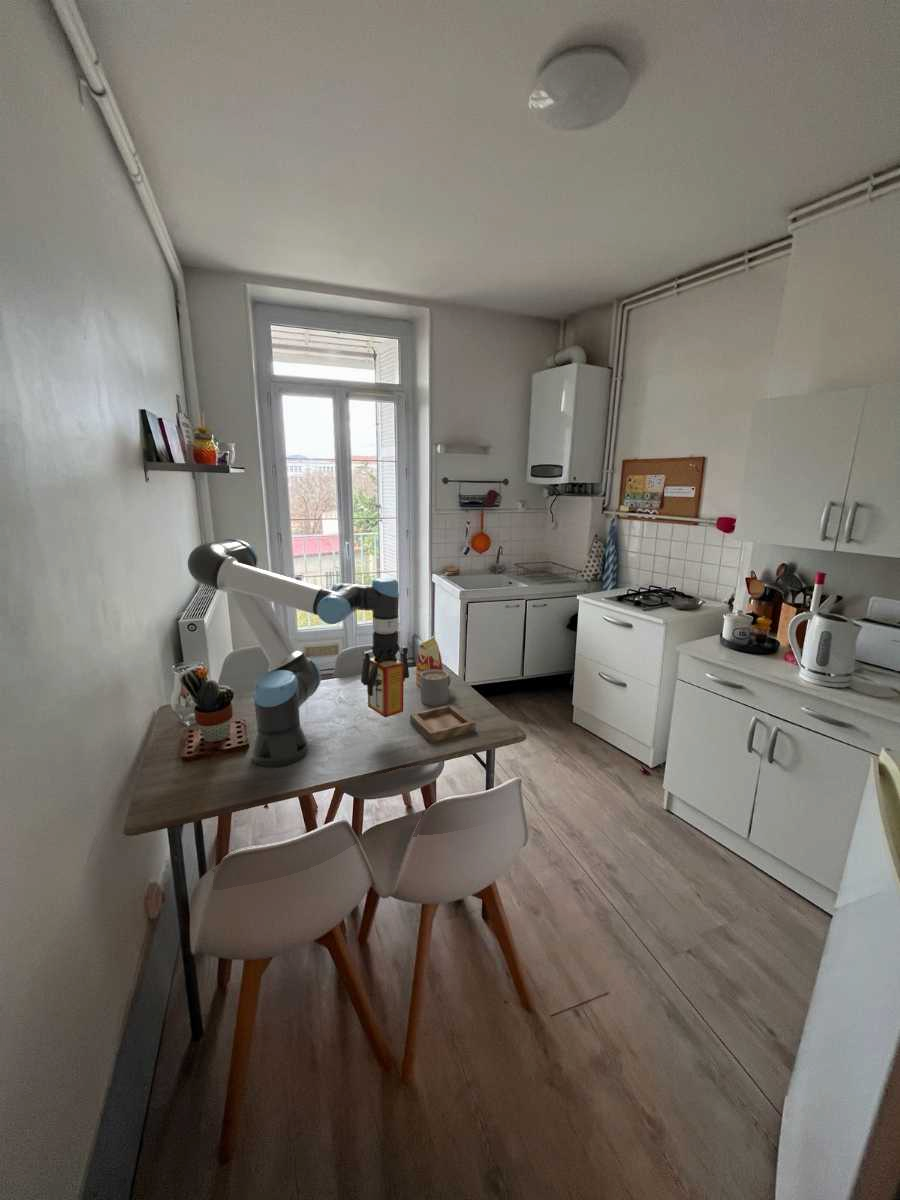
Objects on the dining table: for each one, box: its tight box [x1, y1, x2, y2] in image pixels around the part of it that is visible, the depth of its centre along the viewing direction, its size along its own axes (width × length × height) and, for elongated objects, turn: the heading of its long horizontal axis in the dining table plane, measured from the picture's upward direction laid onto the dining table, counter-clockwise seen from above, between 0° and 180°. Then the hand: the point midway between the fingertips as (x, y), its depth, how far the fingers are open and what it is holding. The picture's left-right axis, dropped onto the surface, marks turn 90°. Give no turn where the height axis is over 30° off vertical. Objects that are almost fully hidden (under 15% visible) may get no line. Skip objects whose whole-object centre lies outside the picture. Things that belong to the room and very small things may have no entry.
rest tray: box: [409, 704, 476, 744], centre depth 157 cm, size 16×15×3 cm
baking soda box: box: [367, 656, 405, 718], centre depth 147 cm, size 10×6×16 cm
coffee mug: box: [420, 669, 451, 707], centre depth 177 cm, size 13×10×10 cm
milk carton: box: [415, 635, 444, 688], centre depth 189 cm, size 9×9×20 cm
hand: (385, 702), depth 148 cm, fingers closed on baking soda box, 7 cm apart
